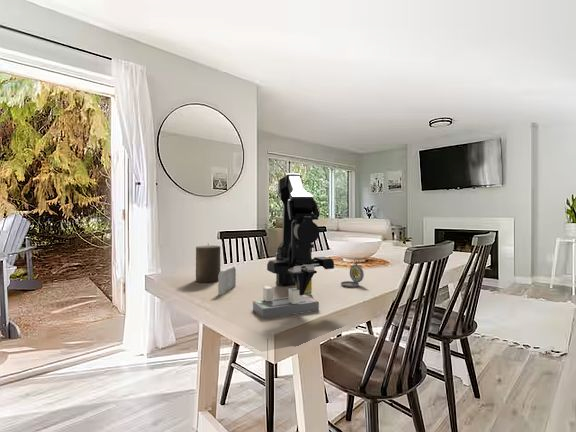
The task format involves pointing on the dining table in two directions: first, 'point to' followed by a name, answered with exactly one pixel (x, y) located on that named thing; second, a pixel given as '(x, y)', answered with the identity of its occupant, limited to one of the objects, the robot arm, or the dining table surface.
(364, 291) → the dining table surface
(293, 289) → the block
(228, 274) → the light switch
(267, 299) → the block
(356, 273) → the pocket watch
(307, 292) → the supplement bottle
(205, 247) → the pillar candle
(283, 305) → the panel
